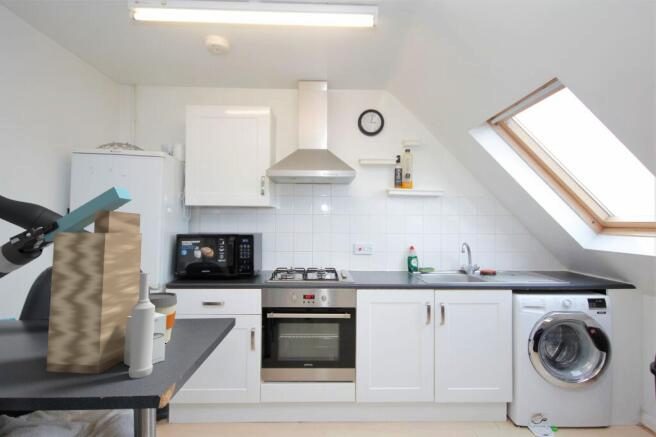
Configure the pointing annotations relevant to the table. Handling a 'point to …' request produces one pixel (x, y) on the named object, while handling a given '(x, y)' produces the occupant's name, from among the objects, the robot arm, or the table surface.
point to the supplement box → (158, 339)
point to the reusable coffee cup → (165, 308)
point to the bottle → (142, 332)
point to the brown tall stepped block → (93, 293)
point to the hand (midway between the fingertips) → (65, 224)
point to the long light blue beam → (91, 211)
